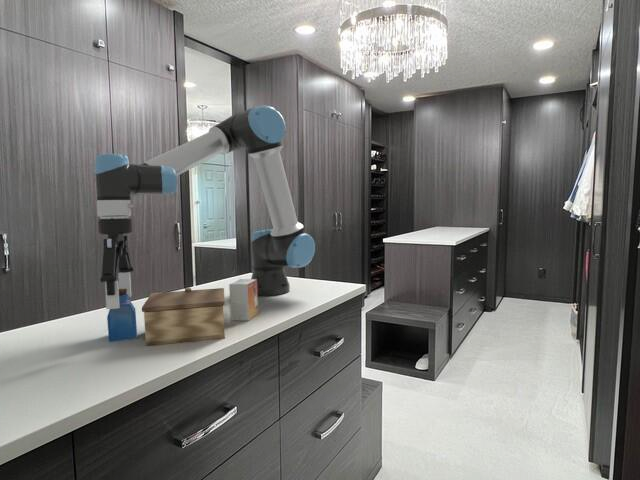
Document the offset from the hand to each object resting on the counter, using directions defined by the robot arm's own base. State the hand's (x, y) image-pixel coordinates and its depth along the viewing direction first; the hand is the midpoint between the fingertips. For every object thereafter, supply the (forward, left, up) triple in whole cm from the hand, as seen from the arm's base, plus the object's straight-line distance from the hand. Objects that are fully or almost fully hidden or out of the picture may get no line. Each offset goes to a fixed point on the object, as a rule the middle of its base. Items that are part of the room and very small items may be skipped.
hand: (119, 302), depth 104 cm
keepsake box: (-16, +3, -9) cm, 19 cm away
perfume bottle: (0, 0, -9) cm, 9 cm away
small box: (-31, -8, -9) cm, 34 cm away
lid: (-16, +3, 0) cm, 17 cm away
